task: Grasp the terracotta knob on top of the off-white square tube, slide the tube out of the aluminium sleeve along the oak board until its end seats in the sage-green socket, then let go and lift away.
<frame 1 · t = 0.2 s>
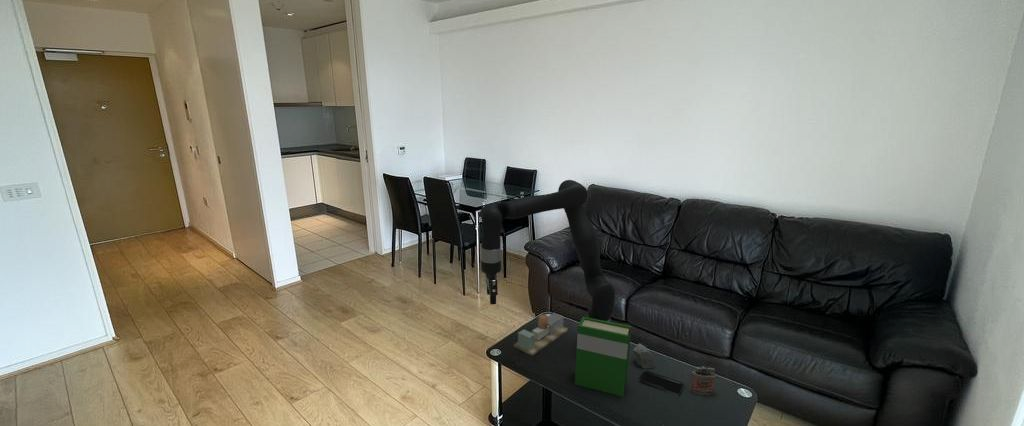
hand: (491, 298, 160), 29 cm above the table, tool pointing down, fingers open, 8 cm apart
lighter: (701, 392, 154), on the table
oak base: (545, 335, 190), on the table
hardback book: (600, 384, 157), on the table
aluminium sleeve: (552, 324, 193), on the oak base, point 4 cm above the table
sage socket: (526, 340, 178), on the oak base, point 4 cm above the table
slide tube: (546, 322, 189), point 6 cm above the table, slide at 0.0 cm
phone: (661, 385, 158), on the table
mineral specimen: (642, 365, 169), on the table
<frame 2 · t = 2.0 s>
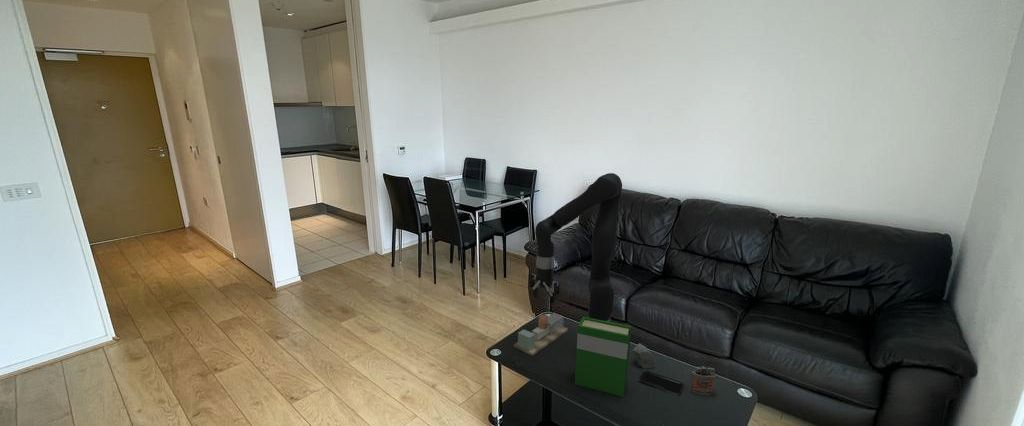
hand: (543, 300, 183), 18 cm above the table, tool pointing down, fingers open, 8 cm apart
nothing on the table moved.
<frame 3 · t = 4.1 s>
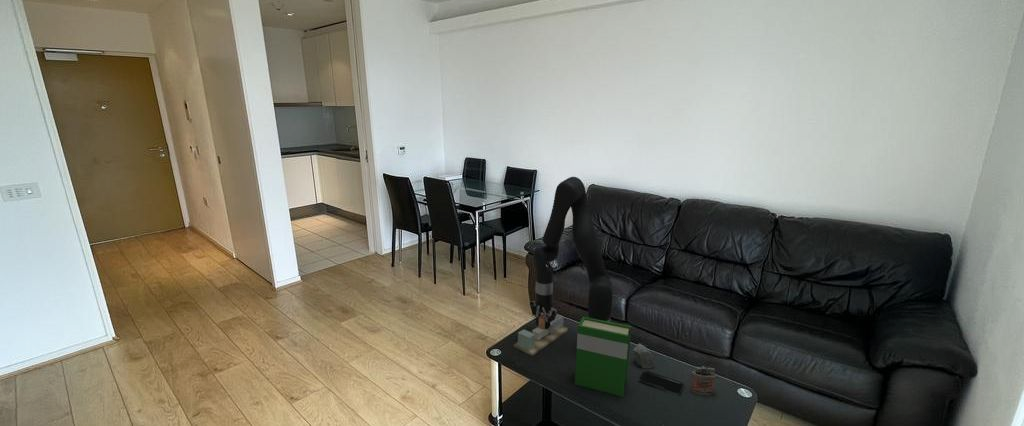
hand: (543, 326, 187), 6 cm above the table, tool pointing down, fingers closed on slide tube, 4 cm apart
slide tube: (546, 322, 189), point 6 cm above the table, slide at 0.0 cm, touching gripper
everything else where it was.
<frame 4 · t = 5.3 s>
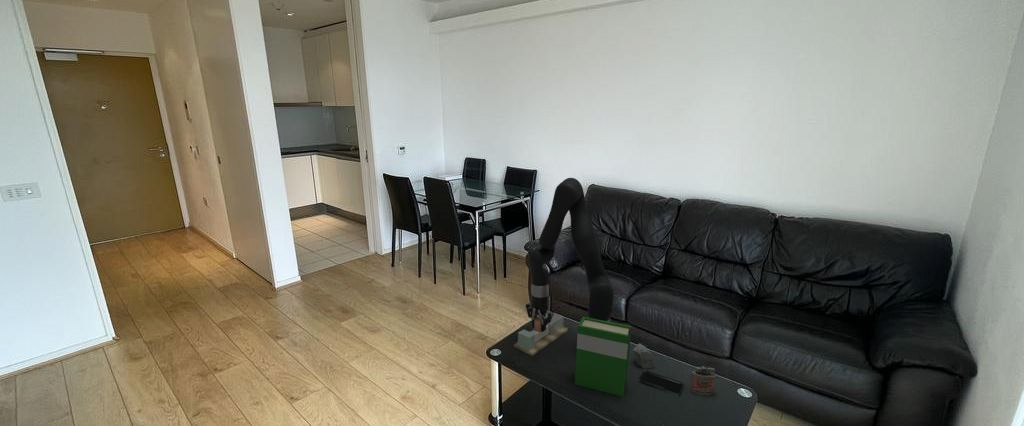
hand: (538, 329, 184), 6 cm above the table, tool pointing down, fingers closed on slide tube, 4 cm apart
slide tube: (542, 325, 186), point 6 cm above the table, slide at 3.0 cm, touching gripper
everything else where it was.
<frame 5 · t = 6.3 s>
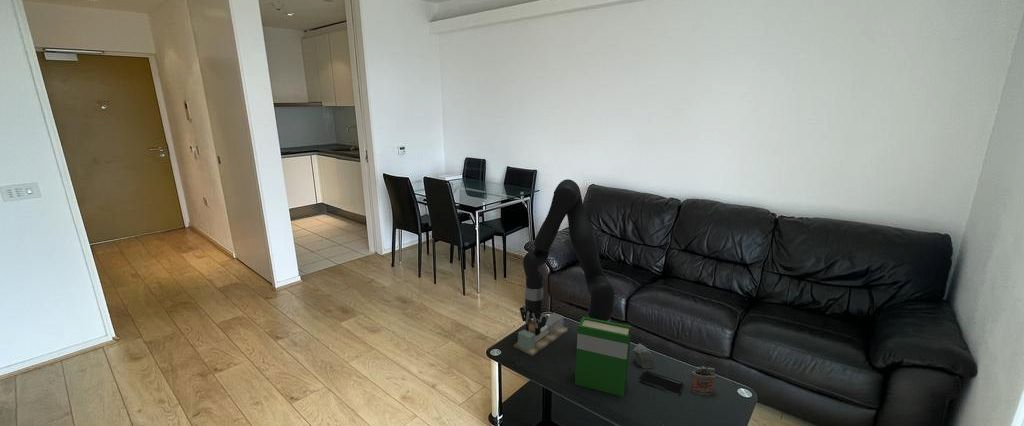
hand: (533, 332, 181), 6 cm above the table, tool pointing down, fingers closed on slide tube, 4 cm apart
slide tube: (537, 328, 183), point 6 cm above the table, slide at 7.1 cm, touching gripper
everything else where it was.
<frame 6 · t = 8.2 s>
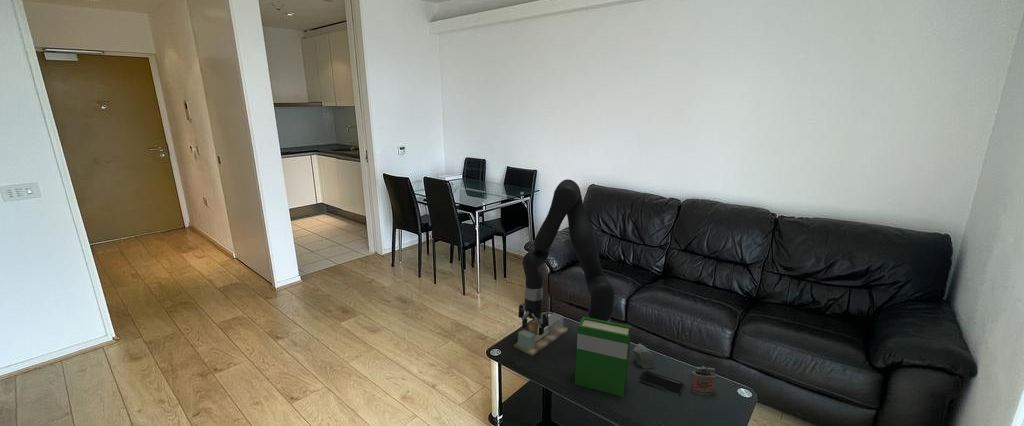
hand: (532, 331, 181), 7 cm above the table, tool pointing down, fingers open, 8 cm apart
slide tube: (537, 328, 183), point 6 cm above the table, slide at 7.0 cm
everything else where it was.
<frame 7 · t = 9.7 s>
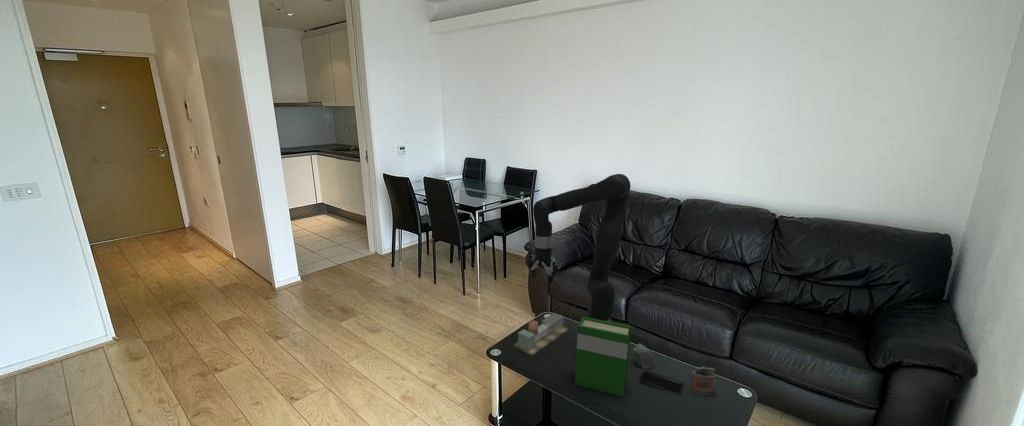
hand: (542, 280, 184), 26 cm above the table, tool pointing down, fingers open, 8 cm apart
nothing on the table moved.
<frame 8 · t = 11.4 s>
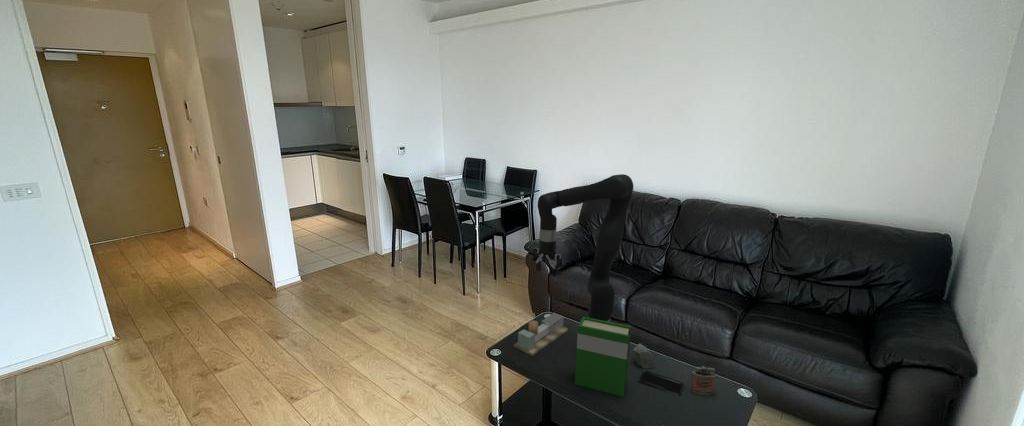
hand: (546, 273, 187), 28 cm above the table, tool pointing down, fingers open, 8 cm apart
nothing on the table moved.
at the end: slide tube slide at 7.0 cm; the gripper is holding nothing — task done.
